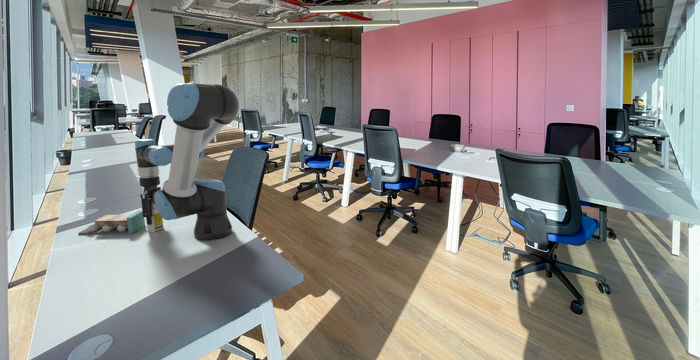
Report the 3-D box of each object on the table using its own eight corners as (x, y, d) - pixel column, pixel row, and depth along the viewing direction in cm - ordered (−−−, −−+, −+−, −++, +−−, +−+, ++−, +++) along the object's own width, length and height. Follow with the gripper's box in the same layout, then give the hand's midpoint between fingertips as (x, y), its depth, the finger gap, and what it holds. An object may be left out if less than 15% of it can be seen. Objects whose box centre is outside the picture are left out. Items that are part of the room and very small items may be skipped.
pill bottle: (166, 226, 160) (163, 202, 157) (159, 231, 153) (156, 206, 151) (151, 226, 159) (149, 202, 157) (144, 231, 153) (141, 206, 151)
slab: (137, 218, 159) (136, 214, 159) (127, 224, 151) (127, 220, 151) (106, 219, 158) (106, 214, 158) (95, 225, 150) (94, 220, 150)
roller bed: (145, 225, 161) (143, 210, 160) (133, 233, 151) (131, 217, 150) (93, 226, 159) (91, 211, 158) (78, 234, 150) (75, 218, 148)
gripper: (150, 172, 161) (156, 221, 165) (127, 181, 142) (134, 236, 147) (168, 171, 161) (173, 221, 166) (147, 180, 142) (154, 236, 147)
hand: (155, 228), depth 156 cm, fingers closed on pill bottle, 6 cm apart
